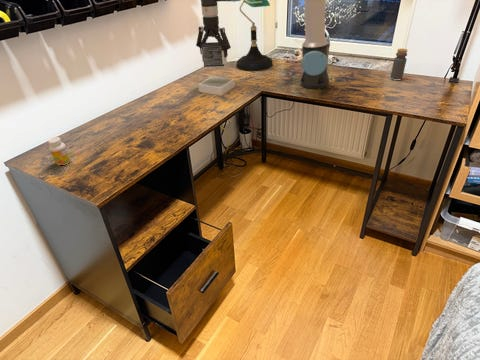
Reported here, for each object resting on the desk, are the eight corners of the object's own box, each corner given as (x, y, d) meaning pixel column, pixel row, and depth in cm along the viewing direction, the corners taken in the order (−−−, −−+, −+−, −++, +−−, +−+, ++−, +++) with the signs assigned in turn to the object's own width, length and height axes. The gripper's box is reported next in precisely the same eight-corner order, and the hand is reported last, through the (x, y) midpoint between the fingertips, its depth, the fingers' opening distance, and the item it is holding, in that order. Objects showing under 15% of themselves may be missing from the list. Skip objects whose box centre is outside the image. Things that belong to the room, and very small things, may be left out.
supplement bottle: (52, 165, 123) (42, 142, 118) (63, 157, 127) (54, 135, 122) (64, 167, 122) (53, 144, 116) (74, 159, 126) (65, 137, 120)
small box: (225, 62, 173) (224, 41, 167) (224, 66, 167) (222, 44, 161) (205, 63, 174) (203, 41, 168) (203, 66, 169) (201, 45, 162)
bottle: (404, 79, 176) (411, 49, 167) (397, 81, 174) (404, 52, 165) (394, 76, 180) (400, 47, 171) (387, 78, 178) (393, 49, 169)
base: (235, 86, 180) (234, 78, 177) (221, 95, 170) (220, 87, 168) (213, 83, 186) (212, 75, 183) (199, 91, 176) (198, 83, 174)
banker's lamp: (278, 69, 199) (279, -7, 176) (241, 74, 196) (237, -3, 173) (266, 57, 221) (265, -12, 197) (232, 61, 217) (228, -9, 194)
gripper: (185, 15, 160) (191, 61, 172) (227, 18, 149) (230, 67, 162) (194, 13, 165) (199, 57, 178) (236, 15, 155) (238, 62, 167)
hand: (214, 62), depth 170 cm, fingers closed on small box, 12 cm apart
